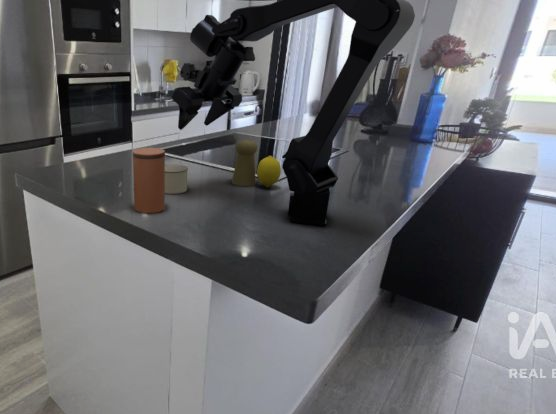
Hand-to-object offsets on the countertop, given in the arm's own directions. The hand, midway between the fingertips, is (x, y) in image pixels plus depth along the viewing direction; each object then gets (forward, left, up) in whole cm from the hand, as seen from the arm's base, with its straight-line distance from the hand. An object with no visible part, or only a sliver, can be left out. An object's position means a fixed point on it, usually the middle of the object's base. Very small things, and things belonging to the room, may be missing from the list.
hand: (192, 126), depth 93 cm
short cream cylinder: (+4, +5, -15) cm, 16 cm away
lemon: (-18, -4, -15) cm, 24 cm away
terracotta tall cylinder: (+5, +19, -15) cm, 25 cm away
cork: (-12, -6, -15) cm, 20 cm away
